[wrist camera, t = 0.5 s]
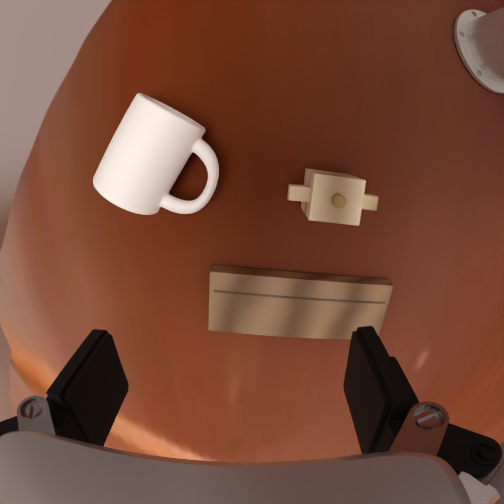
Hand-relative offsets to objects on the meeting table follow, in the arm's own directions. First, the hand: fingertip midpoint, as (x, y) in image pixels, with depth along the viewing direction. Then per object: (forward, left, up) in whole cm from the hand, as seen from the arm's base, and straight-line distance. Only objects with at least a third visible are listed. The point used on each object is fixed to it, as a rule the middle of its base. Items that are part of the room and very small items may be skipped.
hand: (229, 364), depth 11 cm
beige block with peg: (-8, -3, -25) cm, 27 cm away
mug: (+9, -5, -25) cm, 27 cm away
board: (-7, +11, -25) cm, 28 cm away
